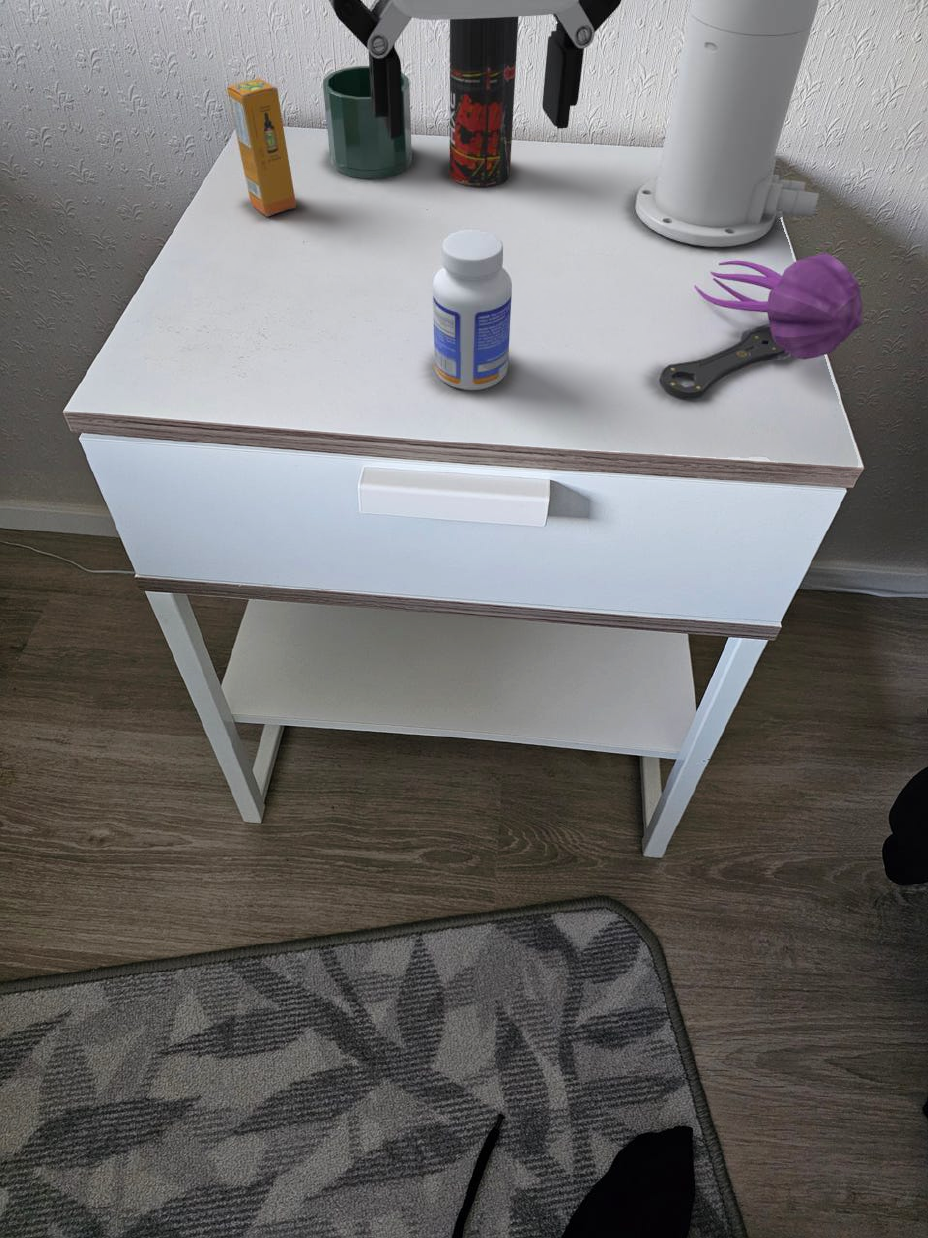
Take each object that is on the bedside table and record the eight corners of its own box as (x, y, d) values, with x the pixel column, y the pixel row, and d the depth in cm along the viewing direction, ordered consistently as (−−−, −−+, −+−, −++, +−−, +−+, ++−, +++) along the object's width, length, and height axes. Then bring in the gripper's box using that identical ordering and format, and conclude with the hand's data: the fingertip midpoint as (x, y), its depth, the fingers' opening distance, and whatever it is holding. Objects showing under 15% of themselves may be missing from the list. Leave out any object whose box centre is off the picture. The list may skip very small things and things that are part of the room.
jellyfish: (724, 210, 66) (877, 243, 55) (748, 280, 71) (895, 323, 60) (661, 268, 66) (802, 312, 55) (690, 334, 71) (825, 387, 60)
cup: (422, 149, 86) (421, 72, 80) (394, 184, 81) (390, 103, 75) (350, 138, 87) (343, 61, 82) (318, 171, 82) (308, 91, 77)
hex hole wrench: (689, 400, 60) (687, 407, 60) (872, 316, 67) (869, 322, 67) (648, 369, 62) (646, 376, 62) (829, 290, 69) (827, 297, 70)
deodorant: (437, 169, 83) (435, -15, 71) (485, 154, 85) (491, -27, 73) (473, 192, 80) (478, 4, 68) (522, 176, 82) (534, -9, 71)
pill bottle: (509, 351, 64) (518, 225, 56) (504, 395, 61) (512, 267, 53) (438, 346, 64) (437, 220, 57) (430, 389, 61) (427, 261, 53)
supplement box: (279, 194, 79) (261, 74, 71) (297, 208, 78) (280, 87, 70) (247, 203, 78) (225, 82, 70) (265, 218, 76) (244, 96, 68)
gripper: (289, -312, 32) (333, 162, 45) (714, -305, 35) (637, 141, 48) (274, -327, 37) (318, 107, 50) (650, -320, 39) (596, 91, 52)
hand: (474, 124), depth 49 cm, fingers open, 9 cm apart
